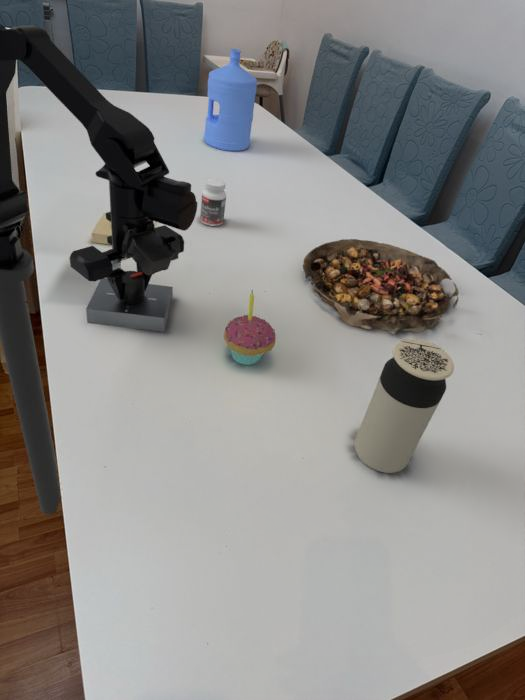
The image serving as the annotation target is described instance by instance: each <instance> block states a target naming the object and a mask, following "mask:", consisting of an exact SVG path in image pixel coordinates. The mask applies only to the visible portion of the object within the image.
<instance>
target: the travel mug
mask: <svg viewBox="0 0 525 700" xmlns="http://www.w3.org/2000/svg"><path fill="white" fill-rule="evenodd" d="M392 355H393V357H391V358H389V359H388V360H387V361H386V362H385V363H384V365H383V368H382V370H381V373H380V375H379V378H378V381H377V383H376V386H375V389H374V391H373V393H372V396H371V398H370V401H369V403H368V406H367V408H366V411H365V413H364V416H363V419H362V421H361V423H360V425H359V428H358V431H357V433H356V436H355V438H354V443H353V445H354V447H353V448H354V450H355V453H356V455H357V456H358V458H359V459H360V460H361V461H362V462H363V463H364V464H365V465H366V466H368V467H369V468H371V469H373V470H375V471H378V472H380V473H388V474H391V473H392V474H394V473H398V472H401V471H402V470H404V469H406V467H407V465H408V464H409V462H410V460H411V458H412V456H413V454H414V452H415V450H416V449H417V446H418V444H419V443H420V441H421V439H422V437H423V435H424V433H425V431H426V429H427V427H428V425H429V423H430V422H431V420H432V418H433V416H434V414H435V412H436V410H437V408H438V406H439V404H440V402H441V400H442V398H443V397H444V394H445V393H446V390H447V381H446V379H447V378H450V377H451V376H452V374H453V372H454V369H455V365H454V361H453V359H452V357H451V356H450V355H449V354H448V353H447V352H446V351H445V350H444V349H443V348H441V347H439V346H438V345H436V344H434V343H432V342H429V341H427V340H423V339H418V338H405V339H401V340H399V341H398V342H396V343H395V345H394V346H393V348H392Z"/></svg>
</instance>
